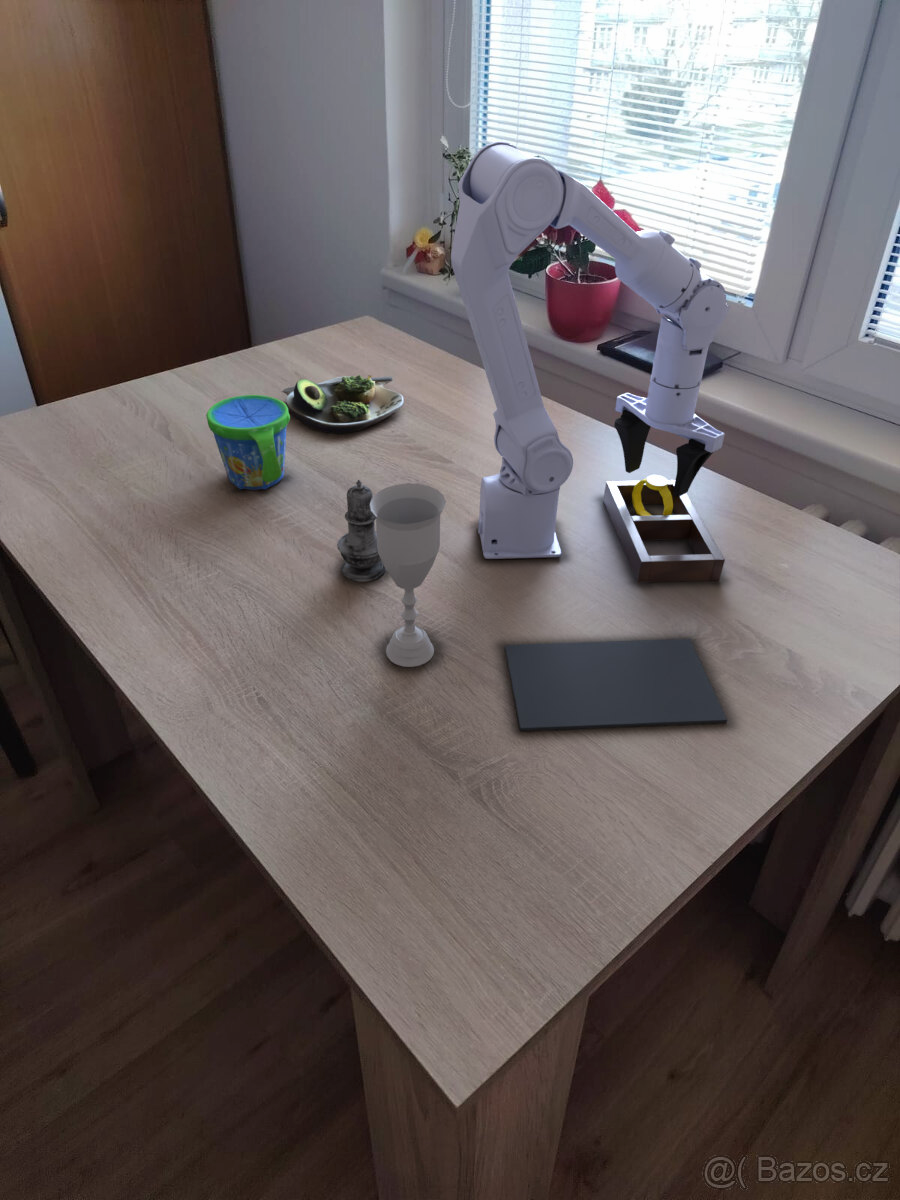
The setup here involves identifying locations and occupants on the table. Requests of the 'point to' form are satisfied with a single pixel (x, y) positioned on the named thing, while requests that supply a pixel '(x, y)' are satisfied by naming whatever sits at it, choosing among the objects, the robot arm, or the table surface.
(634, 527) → the compartment tray
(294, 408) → the avocado toast plate
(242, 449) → the snack cup
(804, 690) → the table surface
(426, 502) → the chalice
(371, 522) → the salt shaker
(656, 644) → the mat
